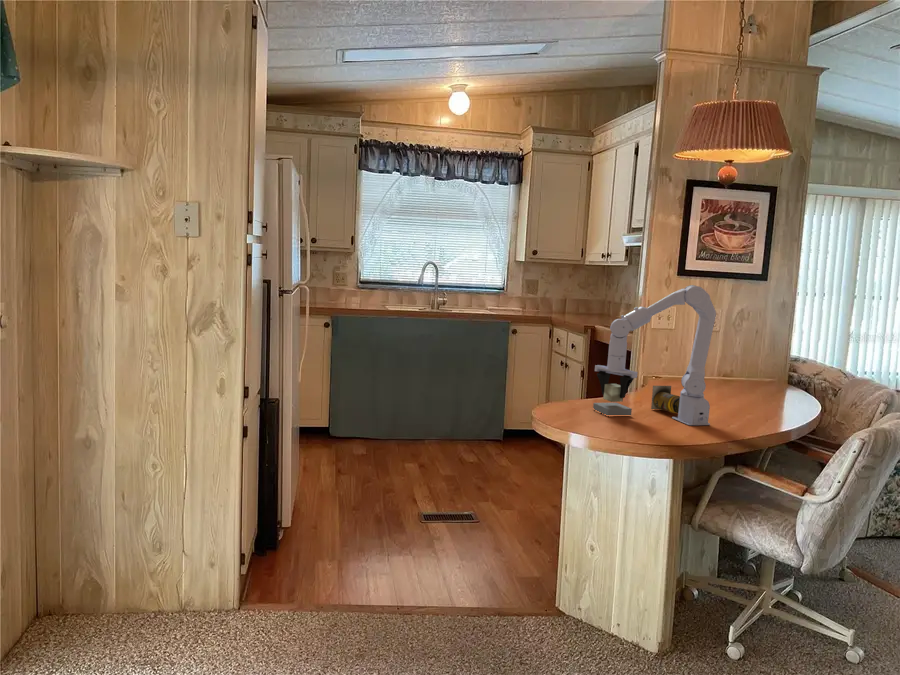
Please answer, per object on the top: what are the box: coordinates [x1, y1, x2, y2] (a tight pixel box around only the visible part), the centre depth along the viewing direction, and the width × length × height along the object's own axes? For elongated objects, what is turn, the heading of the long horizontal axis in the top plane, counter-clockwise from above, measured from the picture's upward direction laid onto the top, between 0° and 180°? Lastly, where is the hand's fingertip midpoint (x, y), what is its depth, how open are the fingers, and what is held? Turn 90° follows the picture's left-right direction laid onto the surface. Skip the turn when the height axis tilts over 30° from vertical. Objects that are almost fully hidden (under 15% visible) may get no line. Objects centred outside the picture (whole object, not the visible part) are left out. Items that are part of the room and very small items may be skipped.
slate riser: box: [592, 402, 633, 416], centre depth 225 cm, size 9×9×3 cm
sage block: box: [602, 383, 624, 403], centre depth 224 cm, size 4×4×5 cm
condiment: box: [650, 385, 680, 414], centre depth 229 cm, size 7×8×12 cm
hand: (613, 395), depth 224 cm, fingers closed on sage block, 6 cm apart
